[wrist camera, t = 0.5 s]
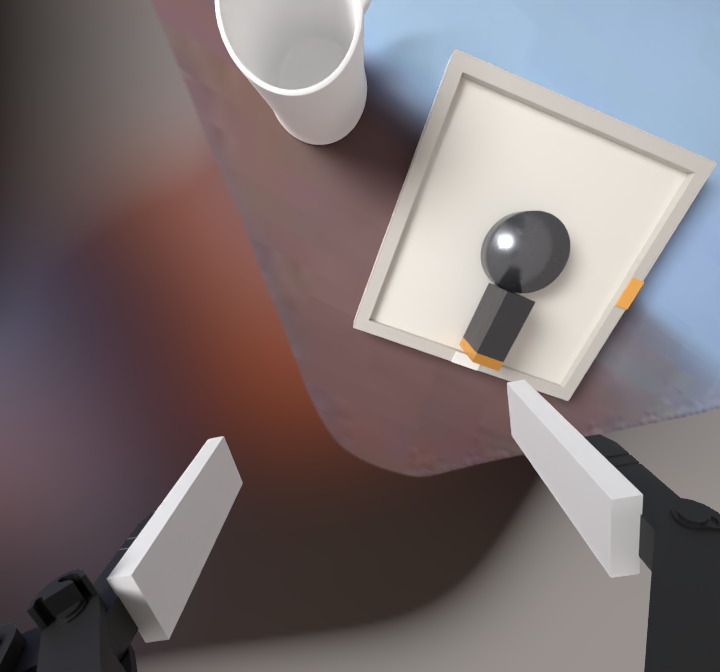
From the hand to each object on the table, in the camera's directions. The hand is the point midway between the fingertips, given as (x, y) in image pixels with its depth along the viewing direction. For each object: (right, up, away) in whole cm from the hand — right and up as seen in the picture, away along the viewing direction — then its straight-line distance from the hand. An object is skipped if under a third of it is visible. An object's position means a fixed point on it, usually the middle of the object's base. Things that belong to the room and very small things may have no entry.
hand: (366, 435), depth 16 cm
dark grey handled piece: (+13, +9, +17) cm, 23 cm away
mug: (-3, +27, +14) cm, 31 cm away
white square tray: (+14, +13, +18) cm, 27 cm away
